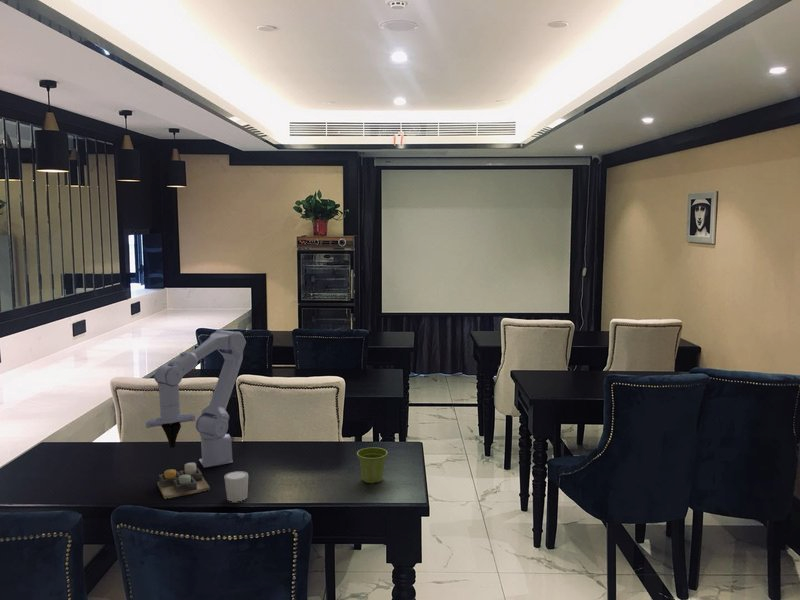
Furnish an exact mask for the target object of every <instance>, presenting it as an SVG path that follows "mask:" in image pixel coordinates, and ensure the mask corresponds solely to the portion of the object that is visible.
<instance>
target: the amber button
mask: <svg viewBox="0 0 800 600" xmlns="http://www.w3.org/2000/svg"><path fill="white" fill-rule="evenodd" d="M176 472H177V470H176V469H170V468H169V469H167V470H164V473H163V474H164V476H165V480H166V479H171V478H176Z"/></svg>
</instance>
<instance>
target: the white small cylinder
mask: <svg viewBox="0 0 800 600" xmlns="http://www.w3.org/2000/svg"><path fill="white" fill-rule="evenodd" d="M196 468H197V462H187V463H185V464H184V470H185V474H188V475H193V474H197V471H196Z"/></svg>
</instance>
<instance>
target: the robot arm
mask: <svg viewBox="0 0 800 600" xmlns="http://www.w3.org/2000/svg"><path fill="white" fill-rule="evenodd" d="M246 344H247V341H246V338H245V336H244V334H243V333H242V332H240V331H230V330H225V329H217V330H216V331H214V332H213V333H211V334H210V336H209V337H208V338H207V339H205V340H204V341H203V342H202V343H201V344H200V345H198V346H197V347H196V348H194V349H193V350H192V351H191V352H190V351H182V352H180V354H179V356H177V357H176V358H174V359H173V360H170V361H169V362H168V363H167V364H164V365H160V366H159V367H158V368H157V369H156V371H155V374H154V375H153V379H154V381H155V383H157V388H158V394H159V395H158V396H159V397H158V398H159V409H160V410H159V412H160V417H156V418H152V419H149V420H145V428H146V429H151V428H154V427H155V428H156V427H161V429H162V430H163V432H164V433H165V436H166V438H167V442H168V445H169V448H170V449H172V448H173V449H174V448H176V441H177V438H178V435H179V432H180V430H181V428H182V425H181V423H187V422H195V429H196V431H197V432H198V433H199V436H200V443H201V447H200V448H201V458H199V459H198V461H199V463H200V464H201V465H202V467H203V468H210V467H216V466H222V465H227V464H232V463H234V462H233V446H232V437H231V435H230V433H227V432H228V430H229V420H230V415H229V414H228V413H229V412H228V411H227V406H228V404H229V400H230V398H231V396H232V392H233V389H234V386H235V383H236V380H237V378H238V375H239V371H240V368H241V365H242V362H243V358H244V357H243V356H244V349H245V347H246ZM216 350H217V351H218V352H219V353H220V354H221V355H222V357H223V359H224V362H223V364H222V368H221V371H220V374H219V376H218V379H217V381H216V386H215V388H214V390H213V394H212V395H211V396H212V397H211V400H210V402H209V405H207V406H206V407H205V408H203V409H202V410H201V413H200V415H199V416H198V417H197V418H196V414H194V413H190V414H189V413H187V414H186V413H185V414H181V407H180V391H179V389H180V388H179V384H180V383H181V382H182V379H183V377H184V376H185V375H186V374H188V373H189V372H191V371H192V370H193V369H195V368H196V367H197V366H198V362H199V361H200V360H202V359H203V358H205V357H207V356H208V355H210V354H211V353H213V352H215V351H216Z"/></svg>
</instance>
